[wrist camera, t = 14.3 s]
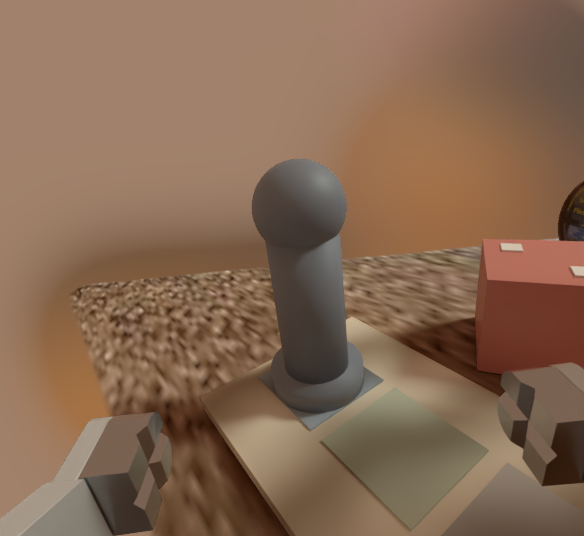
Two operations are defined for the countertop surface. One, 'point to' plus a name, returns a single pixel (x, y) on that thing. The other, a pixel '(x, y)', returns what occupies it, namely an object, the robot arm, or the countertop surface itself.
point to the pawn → (308, 285)
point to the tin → (572, 216)
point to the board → (390, 454)
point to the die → (529, 304)
